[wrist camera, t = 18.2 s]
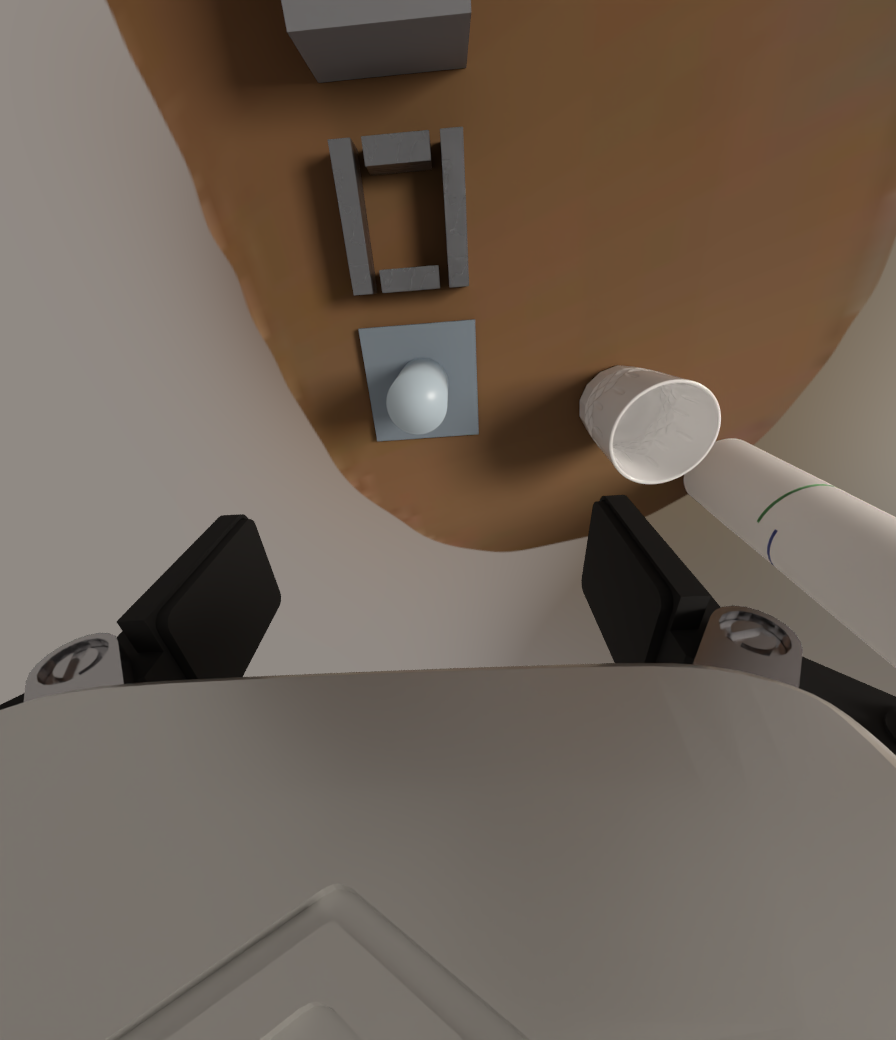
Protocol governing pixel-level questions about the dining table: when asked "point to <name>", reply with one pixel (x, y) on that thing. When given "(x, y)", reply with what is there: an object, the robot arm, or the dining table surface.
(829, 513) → the cylindrical container
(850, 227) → the dining table surface
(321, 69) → the plunger housing
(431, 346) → the rubber mat
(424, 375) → the cylinder
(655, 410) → the white cup
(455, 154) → the cartridge socket
